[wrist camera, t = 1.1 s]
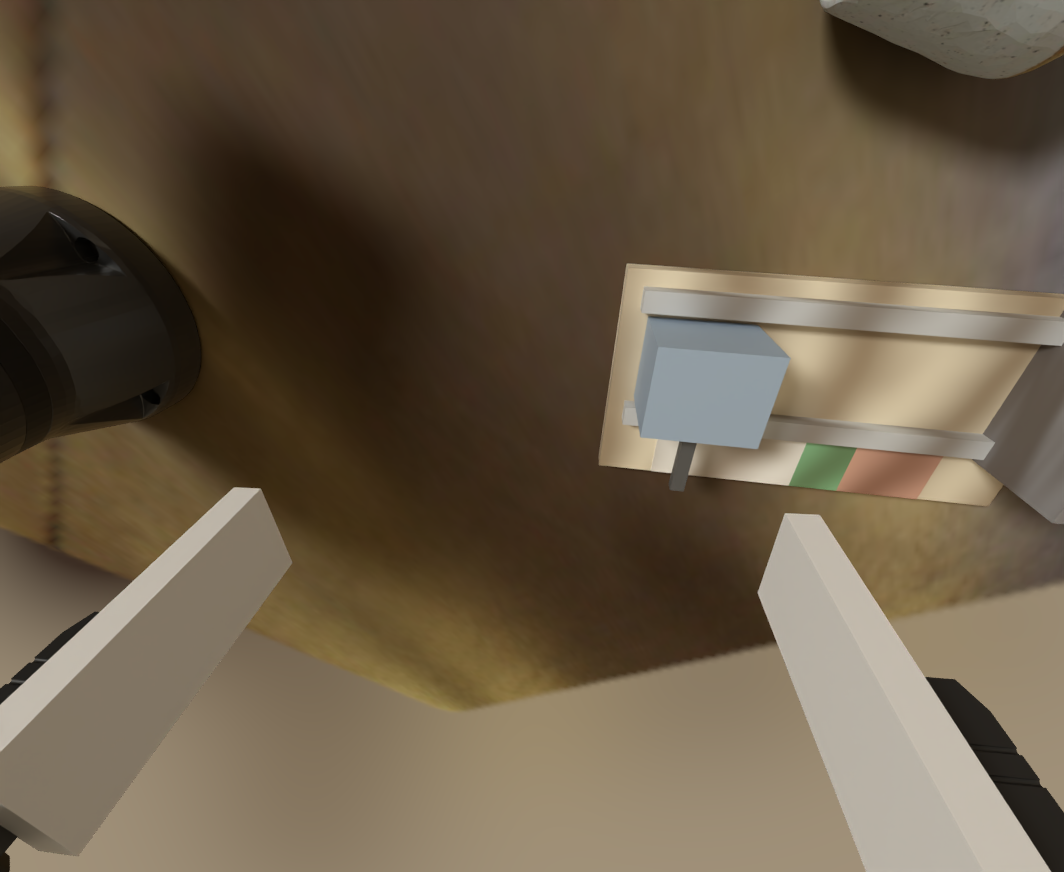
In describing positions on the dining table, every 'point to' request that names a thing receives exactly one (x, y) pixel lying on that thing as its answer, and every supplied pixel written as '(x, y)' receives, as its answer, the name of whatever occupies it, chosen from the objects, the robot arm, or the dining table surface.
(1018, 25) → the ceramic mug
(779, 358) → the carriage
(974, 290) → the gauge base
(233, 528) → the robot arm
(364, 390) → the dining table surface
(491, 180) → the dining table surface
